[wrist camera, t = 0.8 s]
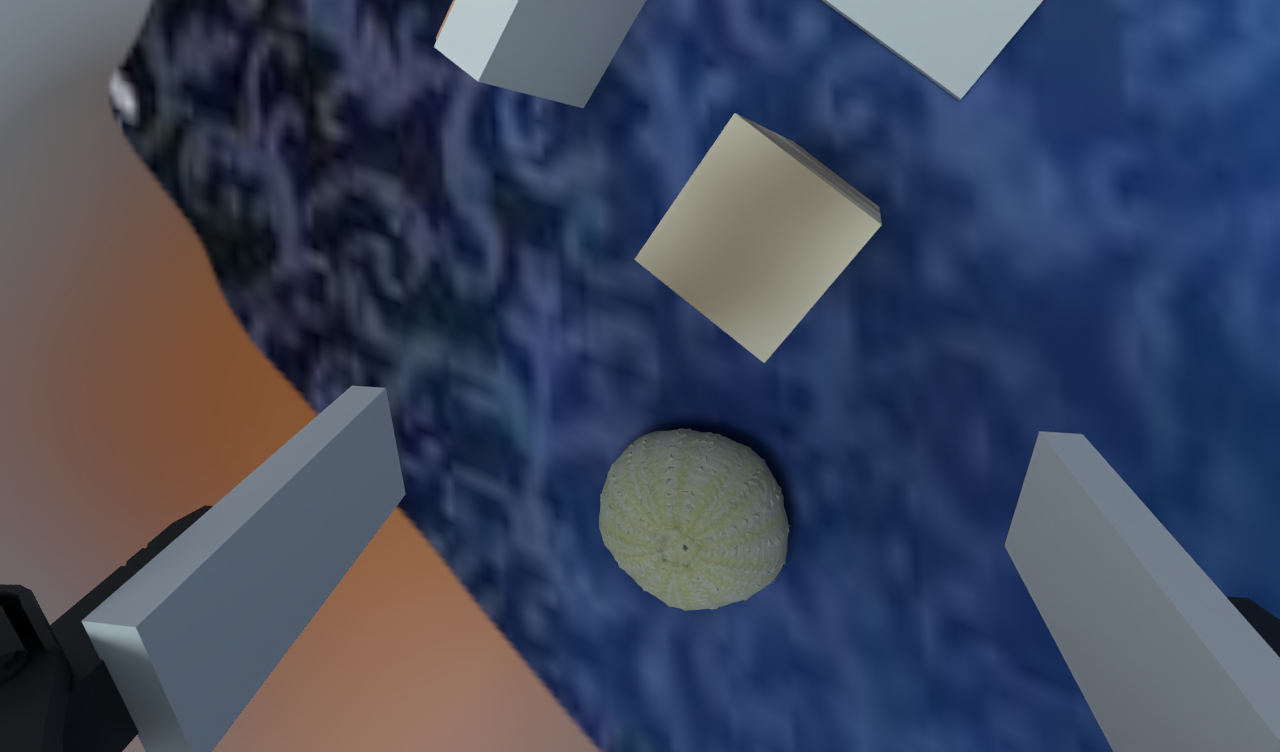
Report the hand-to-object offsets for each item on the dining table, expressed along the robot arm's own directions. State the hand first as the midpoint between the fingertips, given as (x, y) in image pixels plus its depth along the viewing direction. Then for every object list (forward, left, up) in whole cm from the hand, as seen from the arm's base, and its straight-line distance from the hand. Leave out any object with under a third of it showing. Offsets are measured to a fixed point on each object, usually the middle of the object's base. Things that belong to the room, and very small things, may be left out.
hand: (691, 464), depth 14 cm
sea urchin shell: (-3, +11, -18) cm, 21 cm away
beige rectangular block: (+2, -3, -18) cm, 18 cm away
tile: (+14, -5, -18) cm, 24 cm away
